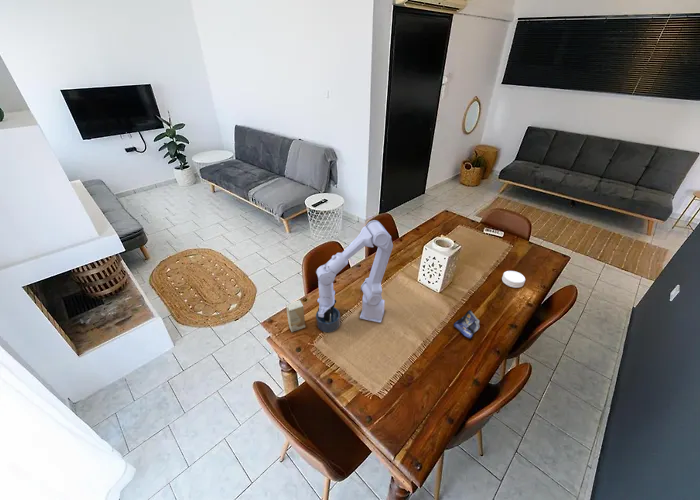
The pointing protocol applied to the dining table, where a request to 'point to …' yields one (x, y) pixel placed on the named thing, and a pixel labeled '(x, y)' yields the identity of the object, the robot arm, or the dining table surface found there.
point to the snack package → (467, 324)
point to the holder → (333, 324)
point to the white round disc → (513, 279)
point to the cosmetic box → (295, 315)
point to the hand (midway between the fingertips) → (328, 317)
